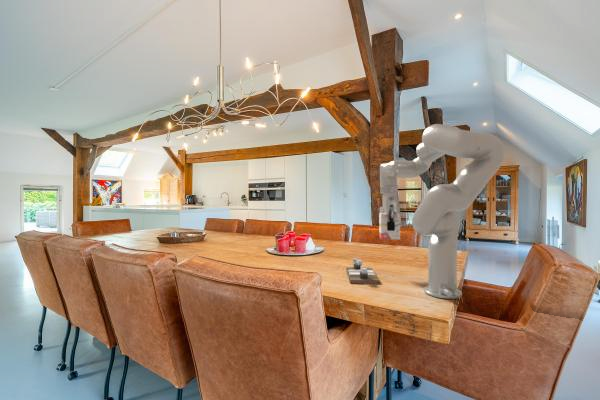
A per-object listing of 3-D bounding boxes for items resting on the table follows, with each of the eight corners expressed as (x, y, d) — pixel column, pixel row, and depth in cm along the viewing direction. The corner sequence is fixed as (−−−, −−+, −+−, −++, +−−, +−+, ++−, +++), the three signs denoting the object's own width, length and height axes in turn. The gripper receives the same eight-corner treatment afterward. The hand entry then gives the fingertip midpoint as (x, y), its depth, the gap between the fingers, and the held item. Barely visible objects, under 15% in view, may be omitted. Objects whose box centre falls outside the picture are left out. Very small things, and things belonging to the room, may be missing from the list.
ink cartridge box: (381, 239, 131) (380, 207, 131) (379, 238, 136) (378, 206, 136) (400, 239, 130) (400, 206, 130) (398, 238, 135) (397, 206, 135)
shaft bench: (379, 283, 120) (379, 269, 120) (350, 283, 121) (349, 269, 121) (371, 270, 141) (371, 258, 141) (346, 270, 142) (346, 258, 142)
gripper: (402, 189, 124) (403, 231, 124) (392, 190, 141) (393, 228, 141) (384, 189, 125) (385, 232, 125) (377, 191, 142) (377, 228, 142)
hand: (389, 229), depth 133 cm, fingers closed on ink cartridge box, 5 cm apart
